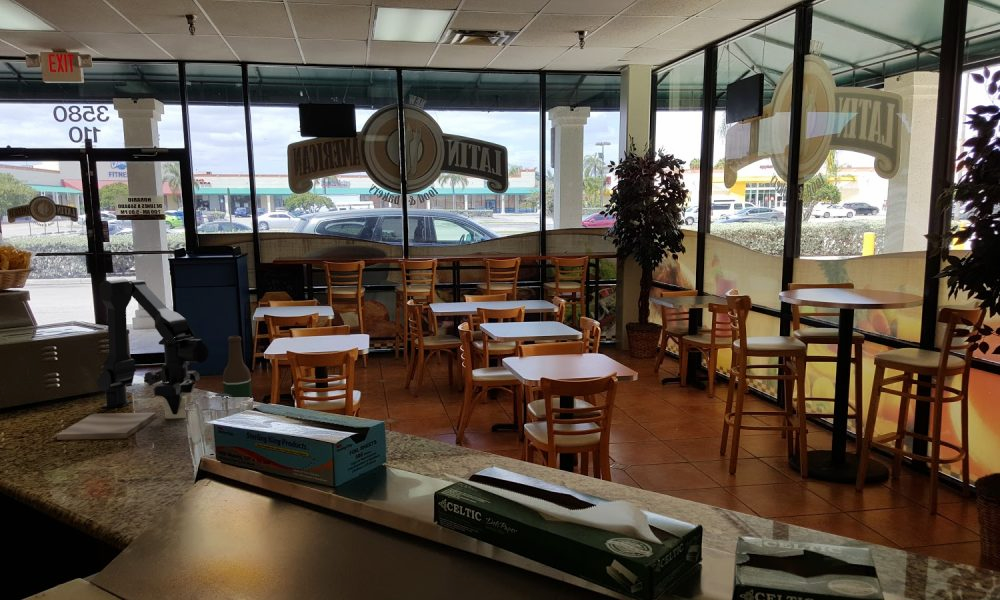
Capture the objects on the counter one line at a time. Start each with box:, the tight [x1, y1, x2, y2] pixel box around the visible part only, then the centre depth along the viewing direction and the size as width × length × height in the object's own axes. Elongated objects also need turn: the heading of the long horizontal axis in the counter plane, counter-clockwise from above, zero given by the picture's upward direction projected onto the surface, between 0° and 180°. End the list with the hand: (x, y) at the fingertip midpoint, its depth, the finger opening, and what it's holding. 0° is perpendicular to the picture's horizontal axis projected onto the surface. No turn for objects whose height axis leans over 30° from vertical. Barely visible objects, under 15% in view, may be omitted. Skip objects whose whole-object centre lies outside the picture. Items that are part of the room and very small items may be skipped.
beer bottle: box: [222, 335, 253, 399], centre depth 200 cm, size 8×8×24 cm
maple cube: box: [163, 392, 194, 419], centre depth 202 cm, size 6×6×6 cm
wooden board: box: [56, 412, 157, 441], centre depth 191 cm, size 18×18×2 cm
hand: (179, 411), depth 203 cm, fingers closed on maple cube, 6 cm apart
